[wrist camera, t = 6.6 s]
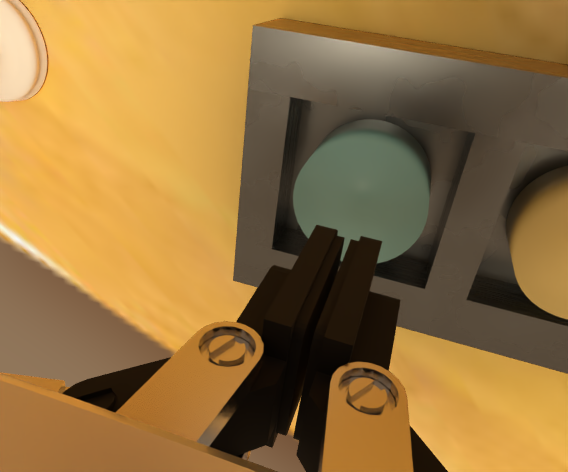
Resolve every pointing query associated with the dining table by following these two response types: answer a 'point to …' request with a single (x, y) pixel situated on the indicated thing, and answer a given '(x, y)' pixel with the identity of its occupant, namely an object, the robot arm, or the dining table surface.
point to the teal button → (366, 186)
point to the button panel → (443, 163)
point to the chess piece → (20, 53)
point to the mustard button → (542, 241)
